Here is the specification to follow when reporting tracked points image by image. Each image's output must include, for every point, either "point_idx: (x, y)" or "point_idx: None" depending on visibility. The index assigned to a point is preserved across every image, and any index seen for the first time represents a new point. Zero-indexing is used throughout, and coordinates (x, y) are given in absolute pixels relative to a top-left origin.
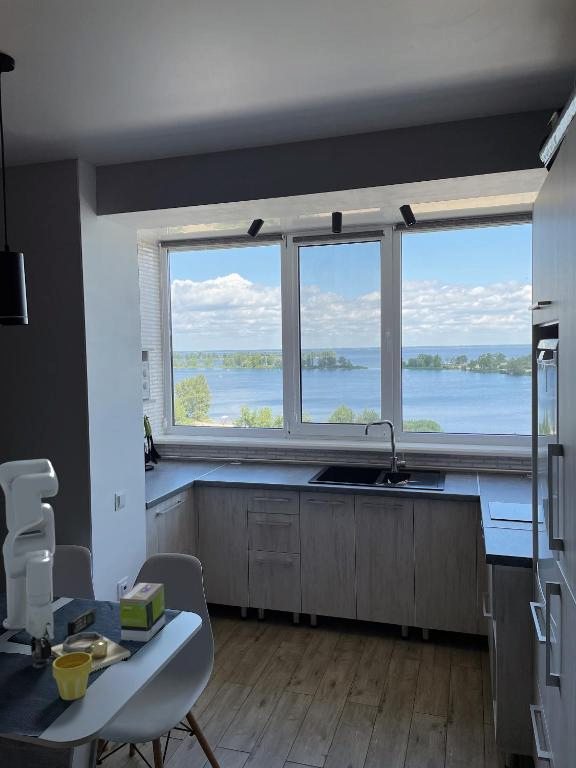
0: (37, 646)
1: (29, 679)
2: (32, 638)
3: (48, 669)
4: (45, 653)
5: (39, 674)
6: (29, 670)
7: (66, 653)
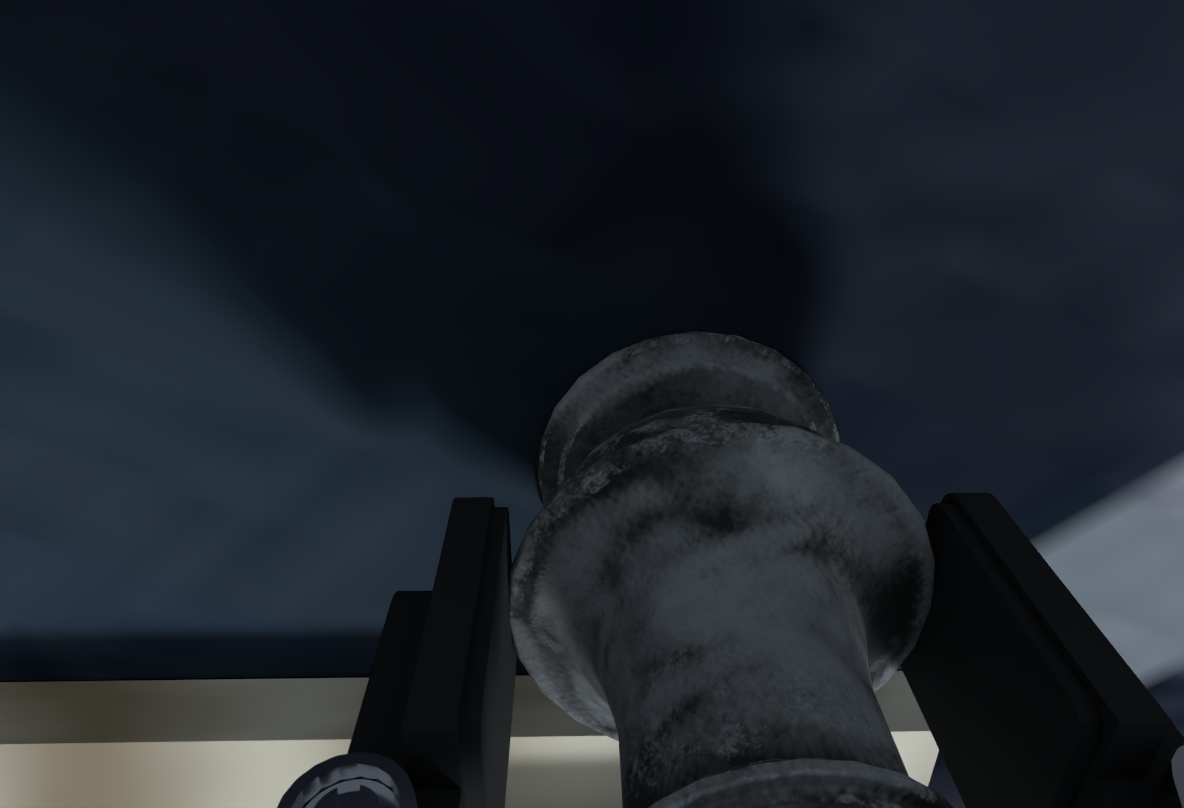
0: (718, 683)
1: (232, 55)
2: (1171, 802)
3: (394, 459)
4: (379, 648)
5: (315, 285)
6: (618, 223)
7: (546, 800)
